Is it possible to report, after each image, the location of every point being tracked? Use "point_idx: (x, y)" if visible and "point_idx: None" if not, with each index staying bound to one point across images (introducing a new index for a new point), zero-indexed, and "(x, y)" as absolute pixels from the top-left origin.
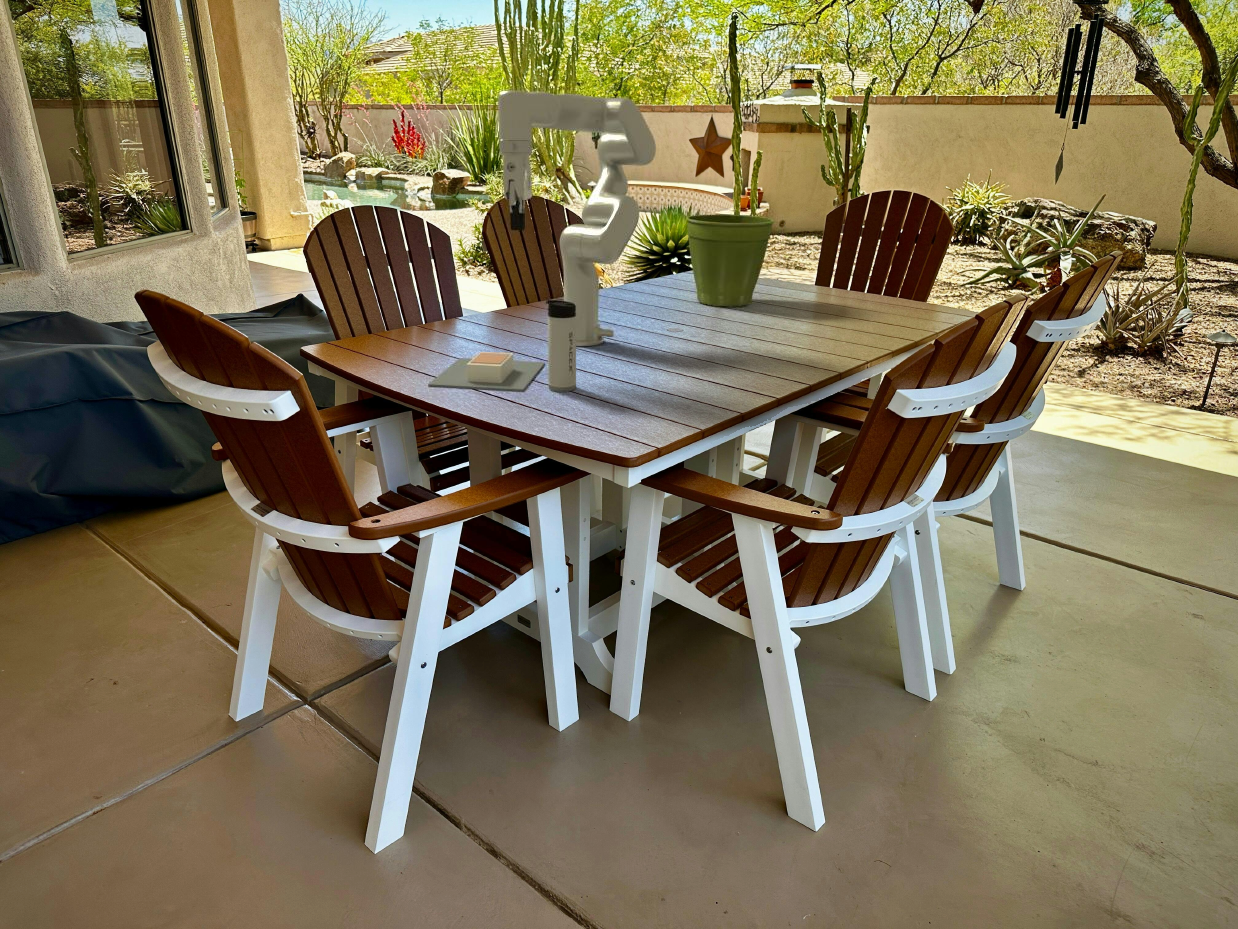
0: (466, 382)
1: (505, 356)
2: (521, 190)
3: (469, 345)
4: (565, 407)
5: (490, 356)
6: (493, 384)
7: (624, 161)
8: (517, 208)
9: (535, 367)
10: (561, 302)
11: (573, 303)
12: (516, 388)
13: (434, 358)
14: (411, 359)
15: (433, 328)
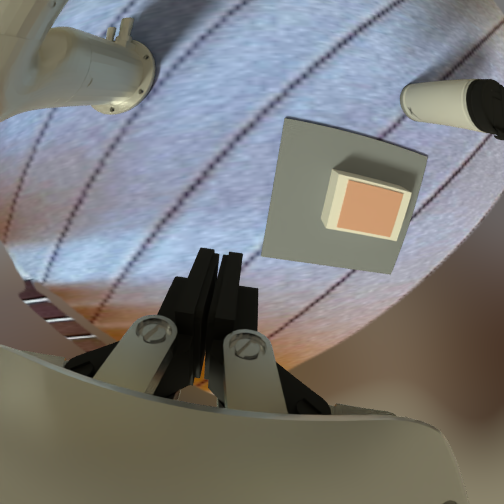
0: None
1: (364, 186)
2: (464, 496)
3: (168, 252)
4: None
5: (362, 210)
6: None
7: None
8: (299, 384)
9: (320, 133)
10: (483, 102)
11: (488, 80)
12: (424, 165)
13: None
14: (260, 313)
15: (93, 306)
